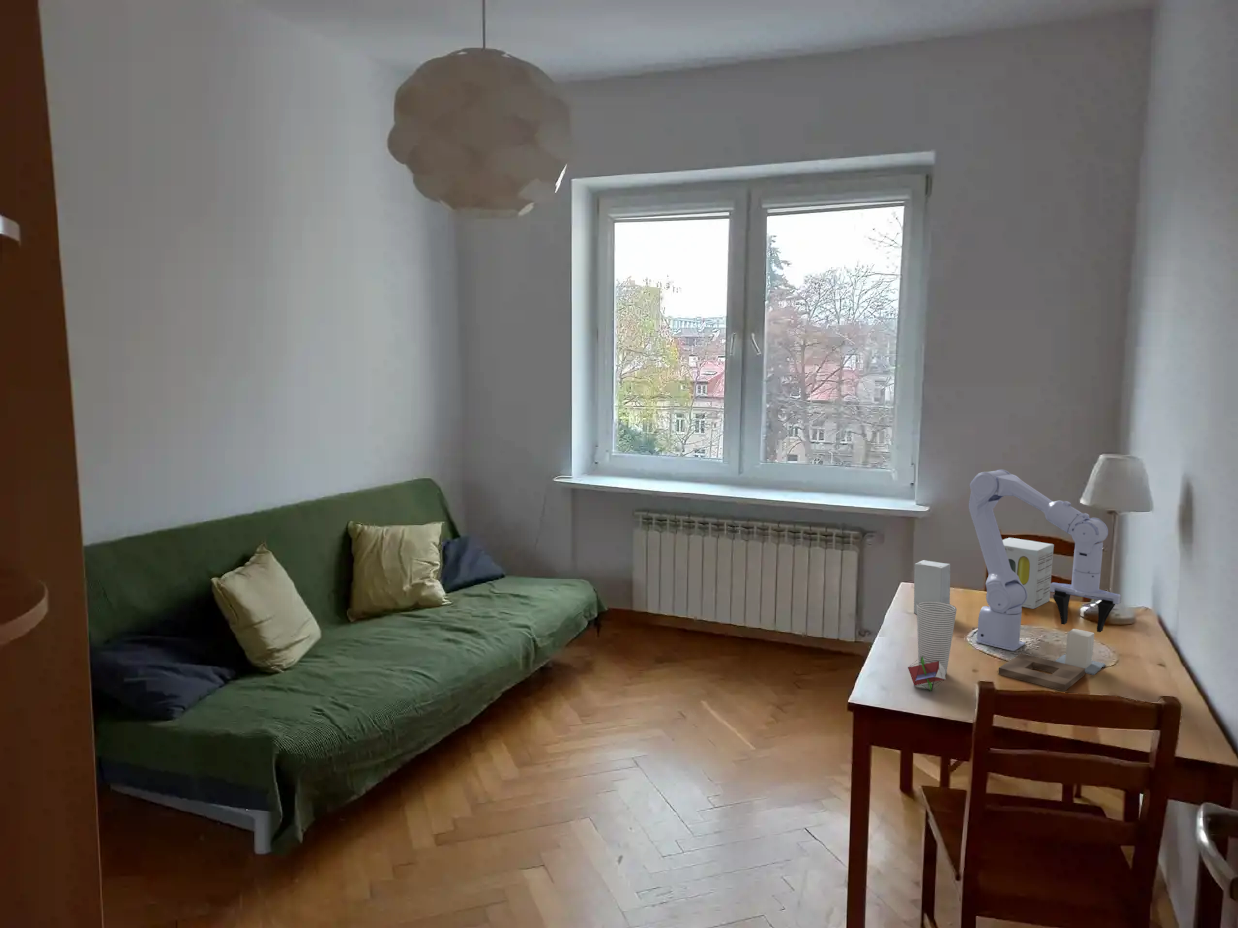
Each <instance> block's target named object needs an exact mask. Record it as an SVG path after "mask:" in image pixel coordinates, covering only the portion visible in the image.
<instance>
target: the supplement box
mask: <svg viewBox="0 0 1238 928" xmlns="http://www.w3.org/2000/svg"><path fill="white" fill-rule="evenodd" d="M1002 541H1003V544H1004V547H1005V550H1006V554H1007V557H1008V560H1009V563H1010V567H1011V570H1012V571H1013V572H1015V573H1016V574H1017V575H1018V576H1019V579H1020V582H1021V583H1022V584H1023V586H1024V587H1025V588H1026V590H1027V594H1028V597H1027V600H1026V602H1025V603H1024V604H1022V608H1026V609H1037V608H1039V607H1040V606H1043V605H1044V604H1047V603H1048V602H1050V600H1051V599H1050V598H1051V592H1050V584H1051V583H1052V572H1053V558H1054V549H1055V548H1054V547H1055V544H1053V543H1048V542H1041V541H1036V540H1029V539H1022V538H1021V539H1020V538H1016V537H1015V538H1014V537H1008V538H1007V537H1006V538H1004V539H1002Z"/></svg>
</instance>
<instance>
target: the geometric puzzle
mask: <svg viewBox="0 0 1238 928" xmlns="http://www.w3.org/2000/svg"><path fill="white" fill-rule="evenodd" d="M924 658H925V656H924ZM927 658H928V657H927ZM930 659H931V658H930ZM927 660H928V659H927ZM933 660H934V659H933ZM916 661H918V659H916V660H915V662H916ZM928 662H931V663H928V664H925V663H924V660H923V657H921V661H920V662H919V663H921V664H922V665H918V664H917V665H916V663H913V665H912V664H910V665H909V666H907V669H908V672H909V674H910V678H911V681H912V683H913V687H918V686H920V685H921V686H923V687H925V686H924V685H926V684H927V685H928V687H929V689H928V691H929V692H930V693H932V691H933V690H935V688H936V687H934V689H933V686H934V685H936V684H937V683H938V684H939V685H940V684H941V683H942V682H944V681H945V680H947V678H946V674H945V669H944V668H943V666H942V665H941V663H940V662H939V661H938V662H936V661H929V660H928ZM932 662H933V663H932ZM934 682H935V683H934ZM925 688H926V689H924V690H926V691H927V687H925Z"/></svg>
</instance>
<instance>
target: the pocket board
mask: <svg viewBox="0 0 1238 928" xmlns="http://www.w3.org/2000/svg"><path fill="white" fill-rule="evenodd" d="M1033 669H1035V670H1033ZM1037 670H1039V671H1037ZM1041 671H1043V672H1041ZM997 673H998V675H1001V676H1004V677H1009V678H1013V679H1016V680H1020V681H1023V682H1028V683H1032V684H1034V685H1039V686H1042V687H1047V688H1050V689H1054V690H1057V691H1062V692H1066V691H1067V690H1069V688H1070V687H1072V686H1073V685H1074V684H1076V682H1078V681H1079V680H1080V679H1081V678H1083V677H1084V676H1085V674H1086V673H1085V668H1080V667H1076V666H1072V665H1068V664H1064V663H1060V662H1056V661H1055V660H1051V659H1047V658H1042V657H1039V656H1035V655H1031V654H1026V653H1024V652H1023V653H1022V652H1021V653H1019V654H1018V655H1016V656H1015V657H1013V658H1012V659H1010V660H1009V661H1007V662H1005V663H1003V664H1002V665H1000V666H999V667H998V672H997Z"/></svg>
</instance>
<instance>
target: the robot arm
mask: <svg viewBox="0 0 1238 928" xmlns="http://www.w3.org/2000/svg"><path fill="white" fill-rule="evenodd" d="M968 486H969V488H970V495H969V501H968V511H969V514H970V517H971V521H972V523H973V526H974V527H973V528H974V530H975V533H976V537H977V540H978V543H979V547H980V550H981V553H982V557H983V560H984V563H985V567H986V569H987V573H988V577H987V578H986V581H985V587H986V594H985V595H986V597H985V599H986V603H987V605H988V606H987V605H983V606H982V607H981V609H980V611H979V613H978V619H977V620H978V621H977V635H976V640H975V643H977V644H983V645H985V646H986V645H987V646H991V647H995V648H1000V649H1003V650H1007V651H1011V652H1015V651H1017V650H1019V648H1022V647H1023V646H1024V645H1025V644H1026V641H1021V640H1020V639H1021V637H1020V636H1021V624H1022V613H1023V611H1022V610H1023V609H1022V608H1023V607H1022V604H1024V603H1025V602H1026V600H1027V597H1028V594H1027V590H1026V588H1025V587H1024V586H1023V584H1022V583H1021V582H1020V579H1019V576H1018V575H1017V574H1016V573H1015V572H1013V571H1012V570H1011V567H1010V563H1009V560H1008V557H1007V554H1006V550H1005V547H1004V544H1003V541H1002V540H1003V538H1002V535H1001V532H1000V528H999V525H998V522H997V521H998V520H997V519H996V516H995V512H994V509H995V508H996V506H997V504H998V503H999V501H1000V500H1001V499H1002V498H1004V497H1015V498H1017V499H1019V500H1021V501H1022V502H1024V503H1026V504H1028V505H1029V506H1031V507H1033V508H1035V509H1037V510H1039V511H1041V512H1042V513H1043V514H1044V517H1045V520H1046V521H1047V522H1049V523H1050V524H1052V525H1054V526H1055V527H1057V528H1059V529H1060V530H1061V531H1063V532H1065V533H1066V534H1069V535H1070V536H1071V538H1072V540H1073V542H1074V550H1073V552H1074V553H1073V562H1072V573H1071V584H1070V583H1069V584H1068V583H1060V582H1059V583H1058V582H1051V584H1050V593H1054V594H1053V595H1052V596H1053V597H1052V598H1053V600H1054V602H1055V605H1056V606H1057V609H1058V613H1059V616H1060V617H1059V618H1060V624H1061V625H1066V624H1067V623H1068V619H1069V606H1070V605H1069V604H1070V599H1071V596H1075V597H1082V598H1087V599H1091V600H1096V601H1100V602H1098V604H1097V611H1098V617H1097V625H1096V632H1097V633H1101V632H1103V631H1104V626H1105V624H1106V621H1107V619H1108V617H1109V615H1110V613H1111V612H1112V610H1113V609H1114V608H1115V606H1116V605H1119V604H1120V603H1121V599H1122V598H1121V597H1122V595H1121V594H1119V593H1114V592H1112V591H1110V592H1109V591H1107V590H1103V589H1100V584H1101V583H1100V582H1101V574H1102V571H1101V570H1102V564H1103V563H1102V560H1103V547H1104V541H1105V540H1106V539H1107V538H1108V535H1109V528H1108V526H1107V525H1106V523H1105V522H1104V521H1103V520H1102V519H1101V518H1098V517H1090V514H1088V513H1087V512H1081V511H1080V510H1078V509H1077V508H1075V507H1073V506H1072V503H1071V502H1070V501H1068V500H1059V499H1058V500H1055V501H1053V500H1052V499H1050V498H1049V497H1048V496H1046V495H1045V494H1043V493H1041V492H1039V490H1037V489H1035V488H1034V487H1032V486H1031V485H1029V484H1028V483H1026V482H1025V481H1023V480H1022V479H1021V478H1019V476H1018V475H1016V474H1012V473H1011V472H1010V471H1008V470H1006V469H996V470H992V471H982V472H979V473H977V474H976V475H975V476H974V477H973V479H972V480H971V481H970V483H969V485H968Z"/></svg>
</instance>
